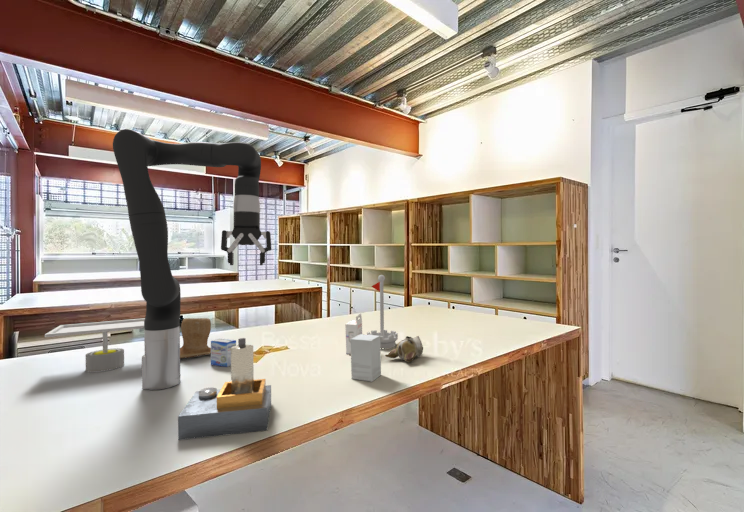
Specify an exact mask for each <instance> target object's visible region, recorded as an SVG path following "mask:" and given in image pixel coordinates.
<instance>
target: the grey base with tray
mask: <svg viewBox="0 0 744 512" xmlns="http://www.w3.org/2000/svg"><path fill="white" fill-rule="evenodd" d="M271 408H272V385H271V384H270V385H269V384H268V385H267V384H266V378H260V379H259V378H258V379H257V378H256V379H254V393H244V394H233V395H231V381H225V382H223V385H222V387H221V389H217V388H216V387H206V388H202V389H199V390H197V391H195V392H194V393H193V395H192V397H191V398H190V399H189V401H188V402H187V404H186V405H185V406H184V407H183V409H182V410H181V411H180V413H179V414H178V416H177V433H178V434H177V437H178V438H177V439H178V441H181V440H190V439H191V440H192V439H200V438H201V439H202V438H207V437H208V438H210V437H218V436H228V435H235V434H236V435H238V434H246V433H257V432H264V431H268V427H269V421H270V415H271Z"/></svg>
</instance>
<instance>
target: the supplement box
mask: <svg viewBox="0 0 744 512" xmlns="http://www.w3.org/2000/svg"><path fill="white" fill-rule="evenodd" d="M381 350H382V349H380V336H376V335H367V334H363V333H362V334H360V335H358V336H356V337H354V338H352V339H351V354H350V363H351V364H350V367H351V370H350V372H351V379H352V380H357V381H364V382H374V381H375V380H377V379H378V378H379V377H380V376H381V374H382V357H381V352H382V351H381Z"/></svg>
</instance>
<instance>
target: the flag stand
mask: <svg viewBox="0 0 744 512" xmlns="http://www.w3.org/2000/svg"><path fill="white" fill-rule="evenodd" d="M377 280H378V282H376V283H375V284H373V285H371V287H372V288H373V289H375V290H376V291H378V292H379V320H380V321H379V323H380V324H379V325H380V326H379V327H380V328H379V331H380V332H378V330H376V329H375V330H371V331H368V332H366V335H376V336H380V348H390V349H392V348H391V347H393V348H395V347H396V342H397V341H398V336H399V335H398V332H397V331H395V330H390V332H388V329H385V326H384V325H385V322H384V321H385V320H384V319H385V317H384V316H385V312H384V311H385V310H384V309H385V307H384V305H385V304H384V281H385V280H386V277H385V275H383V274H380V275H378V277H377ZM394 346H395V347H394Z"/></svg>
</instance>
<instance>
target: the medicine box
mask: <svg viewBox="0 0 744 512" xmlns="http://www.w3.org/2000/svg"><path fill="white" fill-rule="evenodd" d="M234 346H237V340H236V339H235V340H234V339H229V338H227V339H226V338H215V339H211V341H210V348H211V354H210V366H216V367H217V366H218V367H223V368H224V367H225V368H229V367H231V347H234Z"/></svg>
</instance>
